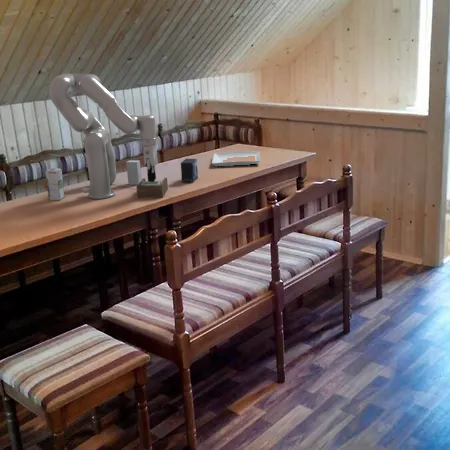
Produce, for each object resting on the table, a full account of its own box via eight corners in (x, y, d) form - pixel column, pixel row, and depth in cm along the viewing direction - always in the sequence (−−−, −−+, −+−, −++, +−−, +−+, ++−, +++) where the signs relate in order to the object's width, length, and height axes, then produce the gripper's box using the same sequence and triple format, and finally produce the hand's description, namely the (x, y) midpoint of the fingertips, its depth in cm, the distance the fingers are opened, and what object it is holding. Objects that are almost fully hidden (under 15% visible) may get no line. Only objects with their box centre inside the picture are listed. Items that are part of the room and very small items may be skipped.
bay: (162, 197, 294) (161, 185, 292) (137, 198, 294) (136, 186, 293) (167, 189, 309) (167, 177, 307) (143, 189, 310) (142, 178, 308)
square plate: (214, 158, 375) (213, 152, 374) (259, 156, 374) (259, 150, 373) (211, 168, 349) (211, 162, 348) (260, 166, 348) (260, 159, 347)
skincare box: (142, 183, 324) (140, 160, 320) (139, 185, 320) (136, 162, 316) (131, 182, 325) (129, 160, 322) (128, 184, 321) (125, 162, 318)
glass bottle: (93, 184, 326) (87, 131, 317) (110, 180, 332) (104, 128, 324) (104, 187, 319) (98, 132, 310) (121, 183, 326) (115, 129, 317)
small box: (193, 182, 319) (192, 162, 315) (181, 182, 320) (179, 162, 317) (198, 177, 328) (197, 158, 325) (186, 178, 330) (185, 158, 327)
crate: (159, 194, 295) (157, 171, 292) (141, 195, 296) (139, 172, 292) (162, 190, 303) (160, 168, 299) (144, 191, 303) (142, 168, 300)
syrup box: (53, 197, 305) (49, 168, 300) (65, 197, 304) (61, 168, 299) (48, 200, 299) (44, 170, 295) (60, 200, 298) (56, 170, 294)
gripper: (153, 145, 286) (156, 184, 292) (159, 138, 302) (162, 176, 307) (137, 145, 287) (141, 184, 293) (144, 139, 302) (147, 176, 308)
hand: (152, 180), depth 300 cm, fingers closed on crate, 2 cm apart
